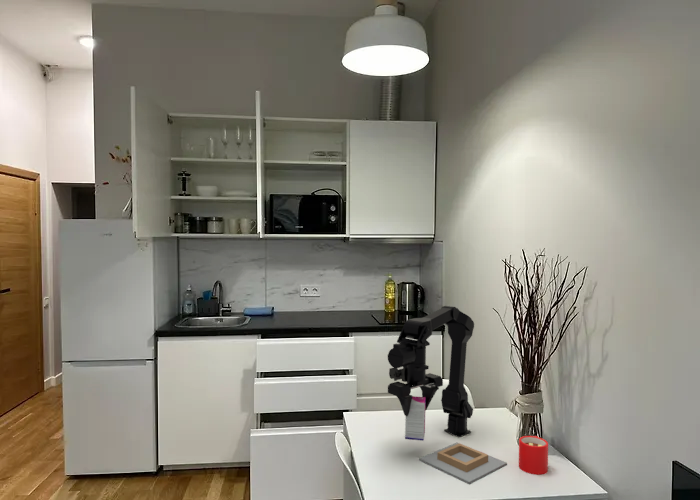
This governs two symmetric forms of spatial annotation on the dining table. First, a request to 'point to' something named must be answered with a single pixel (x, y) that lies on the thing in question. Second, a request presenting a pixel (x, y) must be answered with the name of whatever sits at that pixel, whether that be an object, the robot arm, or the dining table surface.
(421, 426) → the supplement box
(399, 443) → the dining table surface
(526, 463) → the mug
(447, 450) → the holder
